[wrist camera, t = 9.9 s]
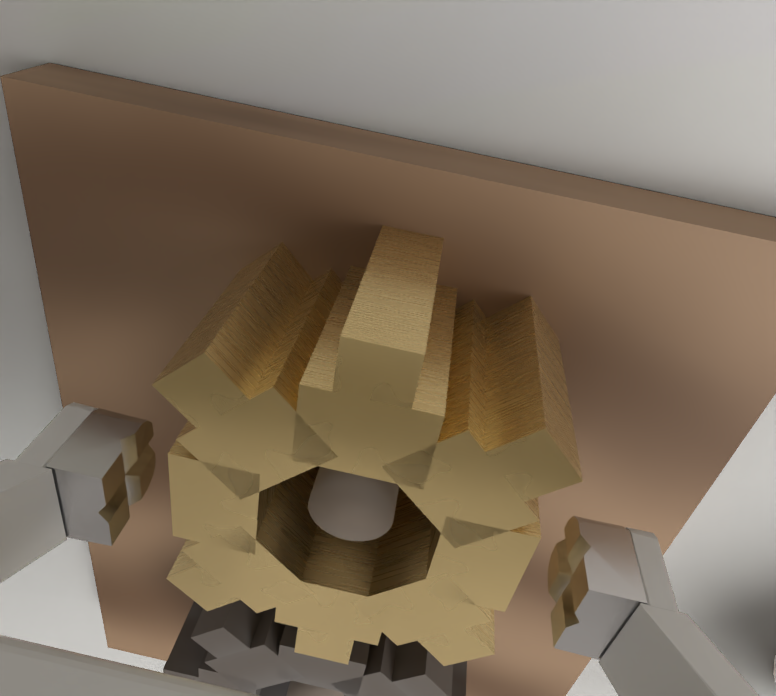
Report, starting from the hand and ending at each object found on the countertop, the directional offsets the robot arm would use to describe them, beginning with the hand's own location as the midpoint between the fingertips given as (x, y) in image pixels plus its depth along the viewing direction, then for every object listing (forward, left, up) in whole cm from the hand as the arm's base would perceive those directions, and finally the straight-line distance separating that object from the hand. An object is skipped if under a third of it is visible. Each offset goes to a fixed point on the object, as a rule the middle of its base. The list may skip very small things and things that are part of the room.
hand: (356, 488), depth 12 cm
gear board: (-5, 0, -4) cm, 6 cm away
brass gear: (0, 0, -3) cm, 3 cm away
